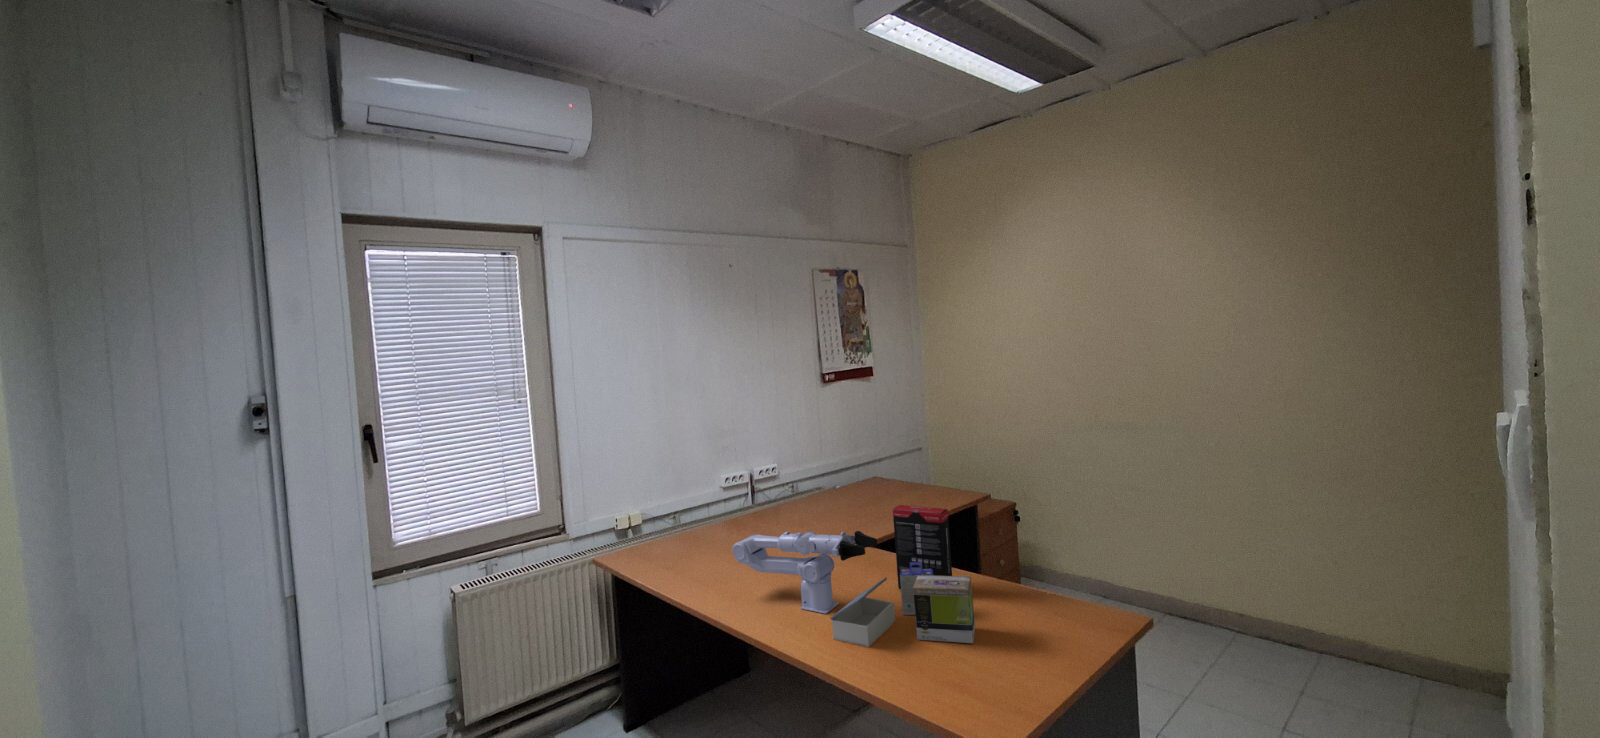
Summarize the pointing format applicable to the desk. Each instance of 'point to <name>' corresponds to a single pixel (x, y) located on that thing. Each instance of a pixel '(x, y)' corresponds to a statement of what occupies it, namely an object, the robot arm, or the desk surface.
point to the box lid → (858, 598)
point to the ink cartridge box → (910, 586)
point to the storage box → (864, 622)
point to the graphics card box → (922, 539)
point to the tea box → (944, 608)
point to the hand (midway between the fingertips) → (870, 546)
